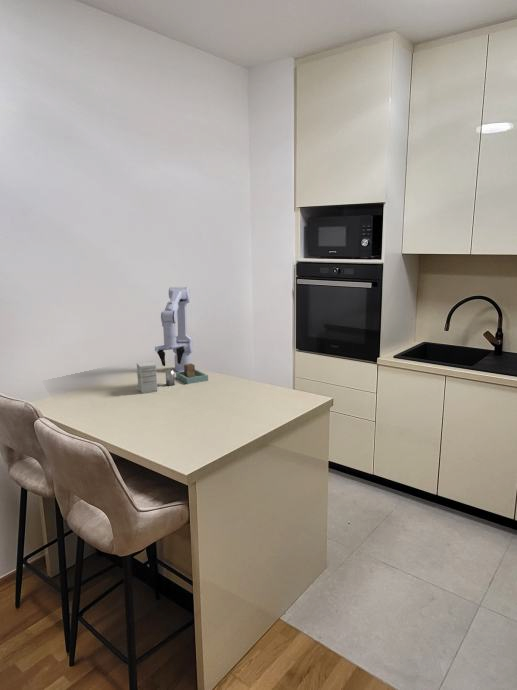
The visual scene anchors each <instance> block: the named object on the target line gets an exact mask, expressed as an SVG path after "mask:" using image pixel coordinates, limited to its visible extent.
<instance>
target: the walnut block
mask: <svg viewBox="0 0 517 690" xmlns="http://www.w3.org/2000/svg"><path fill="white" fill-rule="evenodd" d="M195 366H196V365H195V364H193V363H191V364H185V365H184V376H185V377H187V378H191V377H195V369H196V368H195Z"/></svg>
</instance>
